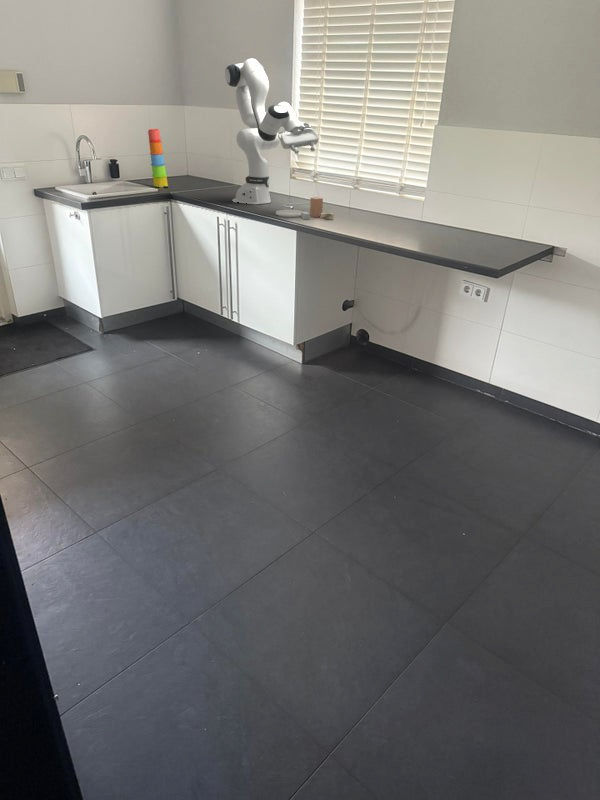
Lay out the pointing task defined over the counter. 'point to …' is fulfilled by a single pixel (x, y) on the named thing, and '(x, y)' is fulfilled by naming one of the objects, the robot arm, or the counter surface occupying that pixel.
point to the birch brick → (326, 215)
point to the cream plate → (289, 213)
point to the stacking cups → (157, 158)
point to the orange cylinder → (316, 206)
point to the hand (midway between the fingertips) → (305, 151)
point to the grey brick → (305, 215)
